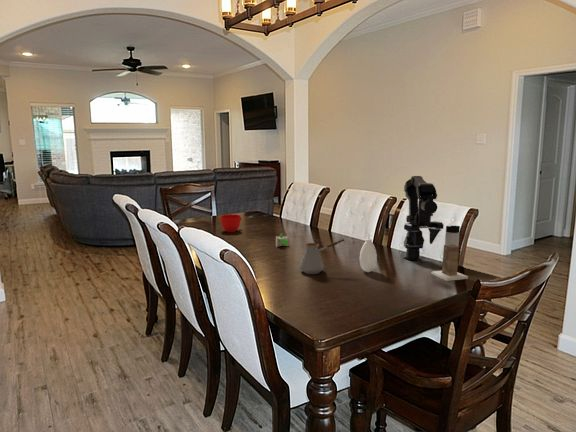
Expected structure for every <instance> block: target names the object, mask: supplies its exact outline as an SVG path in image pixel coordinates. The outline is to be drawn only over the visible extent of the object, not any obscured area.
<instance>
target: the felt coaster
mask: <svg viewBox="0 0 576 432" xmlns="http://www.w3.org/2000/svg"><path fill="white" fill-rule="evenodd" d="M430 274H432V276H435V277H438V278H440V280H444V281H445V282H449V281H450V282H451V280H452V281H461V280H468V279H469V276H468V275H465V274H463V273H460V272H458V271H457V275H453V276H447V275H445V274H443V273H442V270H434V271H431V273H430Z"/></svg>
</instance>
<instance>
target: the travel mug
mask: <svg viewBox="0 0 576 432" xmlns="http://www.w3.org/2000/svg"><path fill="white" fill-rule="evenodd" d="M460 228H461V226H460V225H446V226H445V236H444V237H445V239H444V245H450V244H453V245H456V246H459V244H460V243H459V242H460Z"/></svg>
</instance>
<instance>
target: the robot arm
mask: <svg viewBox="0 0 576 432" xmlns="http://www.w3.org/2000/svg"><path fill="white" fill-rule="evenodd" d="M403 191H404V192H405V193H404V194H405V197H406V198H407V200H408V209H409V210H408V214H409V215H406V222H407V223H404V226H403V227H404V228H403V229H404V231H406V235H405V237H404V241H403V247H404V248H405V249H406V251H405V254H406V255H405V256H403V259H405V260H408V261H410V262H416V261H422V258H420V257H421V256H420V254H421V253H420V251H421V250H420V249H423V248H424V243H425V239H424V236H423V231H422V230H421V229H428V231H429V244H430V245H432V244H433V242H434V241H435V239H436V238H437V236H438V235H439V233H440V232H441V231H442V229H444V223H443V222H440V221H436V220H435V221H432V220H431V219H432V217H433V216H434V213H436V212H437V210H438V203H436V202H435V201H434V200H437V197H438V194H437V189H436V187H435V185H434V183H430V182H427V181H425V180H424V178H423V176H421V175H412V176H411V177H410V179H408V180H407V181H405V184H404V189H403Z"/></svg>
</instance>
